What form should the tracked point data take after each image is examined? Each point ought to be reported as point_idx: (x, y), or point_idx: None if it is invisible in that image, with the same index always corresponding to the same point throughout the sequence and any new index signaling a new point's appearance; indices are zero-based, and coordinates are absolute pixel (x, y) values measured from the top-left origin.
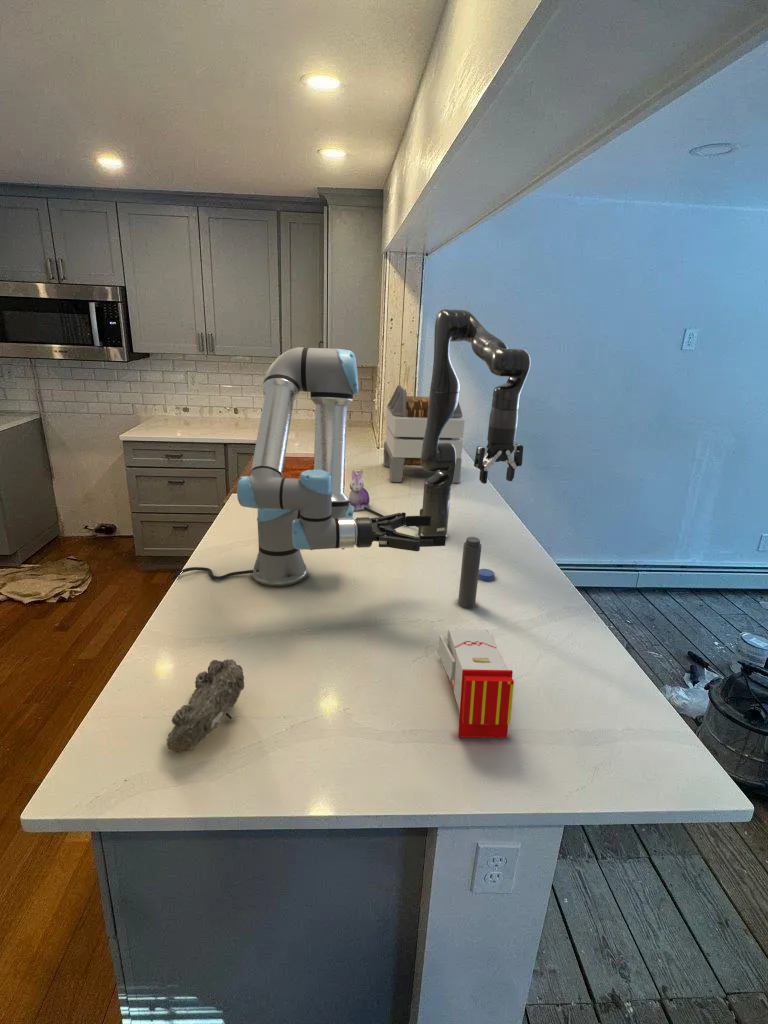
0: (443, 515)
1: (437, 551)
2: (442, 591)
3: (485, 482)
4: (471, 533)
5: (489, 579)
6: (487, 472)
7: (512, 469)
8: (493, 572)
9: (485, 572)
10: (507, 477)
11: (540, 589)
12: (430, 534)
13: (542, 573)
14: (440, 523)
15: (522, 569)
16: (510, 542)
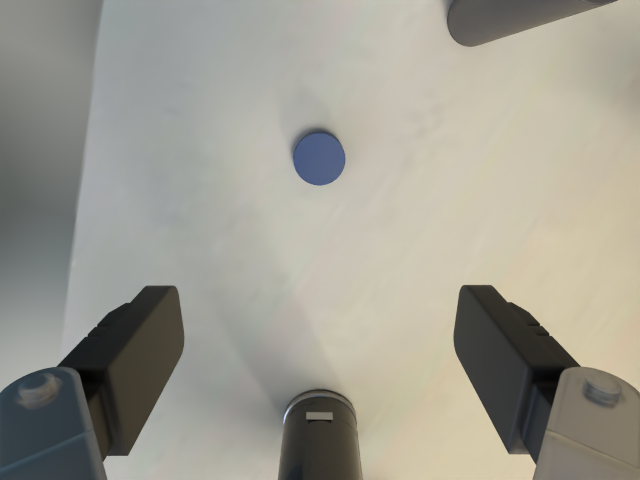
0: (313, 453)
1: (359, 339)
2: (490, 117)
3: (481, 287)
4: (207, 408)
5: (321, 132)
6: (525, 353)
7: (97, 364)
8: (297, 151)
9: (321, 159)
10: (172, 345)
11: (194, 27)
12: (345, 411)
13: (129, 126)
14: (321, 431)
15: (178, 170)
16: None
